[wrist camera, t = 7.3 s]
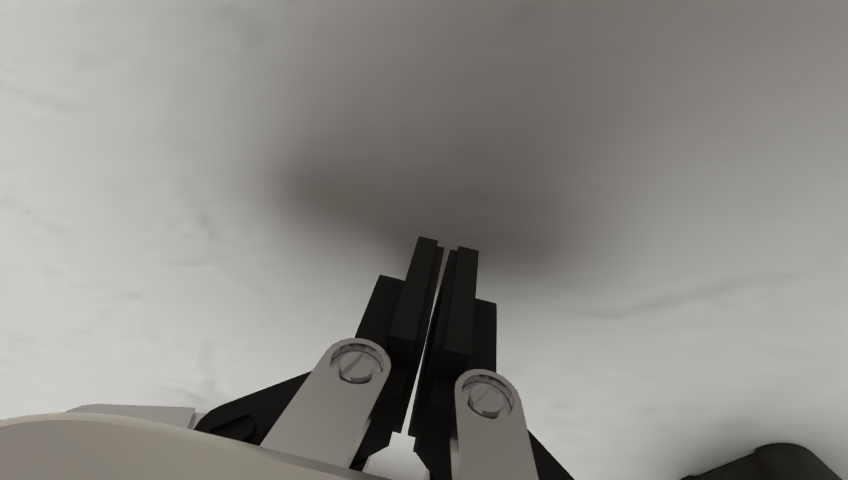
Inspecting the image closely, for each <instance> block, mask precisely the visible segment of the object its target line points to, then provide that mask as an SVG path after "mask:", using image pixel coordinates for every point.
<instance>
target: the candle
mask: <svg viewBox="0 0 848 480" xmlns="http://www.w3.org/2000/svg"><path fill="white" fill-rule="evenodd" d="M683 480H841V479H840V478H839V477H838V476H837V475H836V474H835V473H834V472H832V471H831V470H830V469H829V468H828V467H827V466H826V465H825V464H824V463H823V462H821V461H820V460H819V459H818V458H817V457H816V456H815V455H814V454H813V453H811V452H810V451H808V450H807V449H805V448H802V447H799V446H796V445H789V444H777V445H770V446H766V447H762V448H759V449H757V450H755V454H754V455H751V456H749V457H746V458H744V459H741V460H739V461H736V462H734V463H731V464H729V465H726V466H724V467H721V468H719V469H716V470H714V471H711V472H709V473H706V474H704V475H701V476H699V477H692V476H690V477H687V478H685V479H683Z"/></svg>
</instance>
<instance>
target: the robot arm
mask: <svg viewBox="0 0 848 480" xmlns="http://www.w3.org/2000/svg"><path fill="white" fill-rule="evenodd" d="M437 243H438V241H436V240H432V239H428V238H424V237H420V236H419V238H418V241H417V244H416V247H415V251H414V254H413V257H412V260H411V264H410V267H409V270H408V273H407V277H406V280H405V281H404V280H400V279H396V278H392V277H388V276H384V275H380V276H379V278H378V280H377V283H376V285H375V288H374V290H373V293H372V295H371V298H370V300H369V303H368V305H367V308H366V310H365V313H364V315H363V318H362V320H361V323H360V325H359V328H358V330H357V333H356V335H355V338H349V339H344V340H340V341H338V342H337V343H335V344H333V345H332V346H331V347H330V348H329V349H328V350H327V351H326V352H325V353H324V355H323V356H322V358H321V359H320V361H319V362H318V363H317V365H316V366H315V368H314V369H313V370H312V371H310V372H308V373H305V374H302V375H300V376H297V377H295V378H292V379H289V380H287V381H284V382H281V383H279V384H276V385H273V386H271V387H268V388H266V389H263V390H260V391H258V392H255V393H252V394H250V395H247V396H244V397H242V398H239V399H237V400H234V401H231V402H229V403H226V404H223V405H221V406H219V407H217V408H215V409H213V410H211V411H210V412H208V413H207V414H203V413H196V411H195V408H186V407H161V406H136V405H111V404H92V405H83V406H80V407H77V408H74V409H71V410H68V411H66V412H60V413H49V414H38V415H26V416H21V417H15V418H9V419H4V420H0V480H391V479H387V478H383V477H379V476H375V475H371V474H367V473H365V471H366V469H367V467H368V464H369V461H370V457H371V455H372V454H374V453H376V452H378V451H380V450H382V449H383V448H385V447H387V446H389V443H390V439H391V435H392V431H393V432H397V433H401V430H402V427H403V423H404V419H405V416H406V412H407V408H408V405H409V401H410V397H411V394H412V390H413V386H414V383H415V379H416V375H417V372H418V368H419V364H420V361H421V357H422V353H423V349H424V345H425V341H426V345H425V350H424V355H423V360H422V365H421V370H420V375H419V380H418V385H417V390H416V395H415V400H414V405H413V410H412V415H411V420H410V425H409V430H408V435H409V436H412V437H416V438H415V444H414V450H413V452H416V453H417V455H418V456H419V458H420V459H421V461H422V462H423V463H424V465H425V466H426V471H425V478H424V480H574V479H573V478H572V476H571V475H570V474H569V473H568V472H567V471H566V470H565V469H564V468H563V467H562V466H561V465H560V464H559V463H558V461H557V460H556V459H555V458H554V457H553V456H552V455H551V454H550V453H549V452H548V451H547V450H546V449H545V447H544V446H543V445H542V444H541V443H540V442H539V441H538V440H537V439H536V438H535V437H534V436H533V435H532V434H531V432H530V431H529V430H528V429H527V425H526V421H525V417H524V412H523V408H522V403H521V399H520V397H519V394H518V392H517V390H516V389H515V388H514V386H513V385H512V384H511V383H510V382H509V381H508V380H507V379H506V378H504V377H503V376H501V375H499V374H497V373H496V331H497V307H496V303H492V302H488V301H484V300H480V299H476V298H475V294H476V281H477V267H478V253H479V251H477V250H473V249H469V248H465V247H461V246H459V248H458V251H455V250H451V249H450V252H449V256H448V259H447V263H446V267H445V270H444V274H443V278H442V282H441V285H440V289H439V293H438V296H437V300H436V304H435V307H434V311H433V315H432V318H431V322H430V317H431V312H432V307H433V302H434V297H435V292H436V287H437V282H438V277H439V272H440V267H441V262H442V257H443V252H444V248H443V247H439V246H437ZM429 322H430V326H429ZM428 327H429V330H428ZM427 332H428V335H427ZM426 336H427V340H426Z"/></svg>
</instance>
